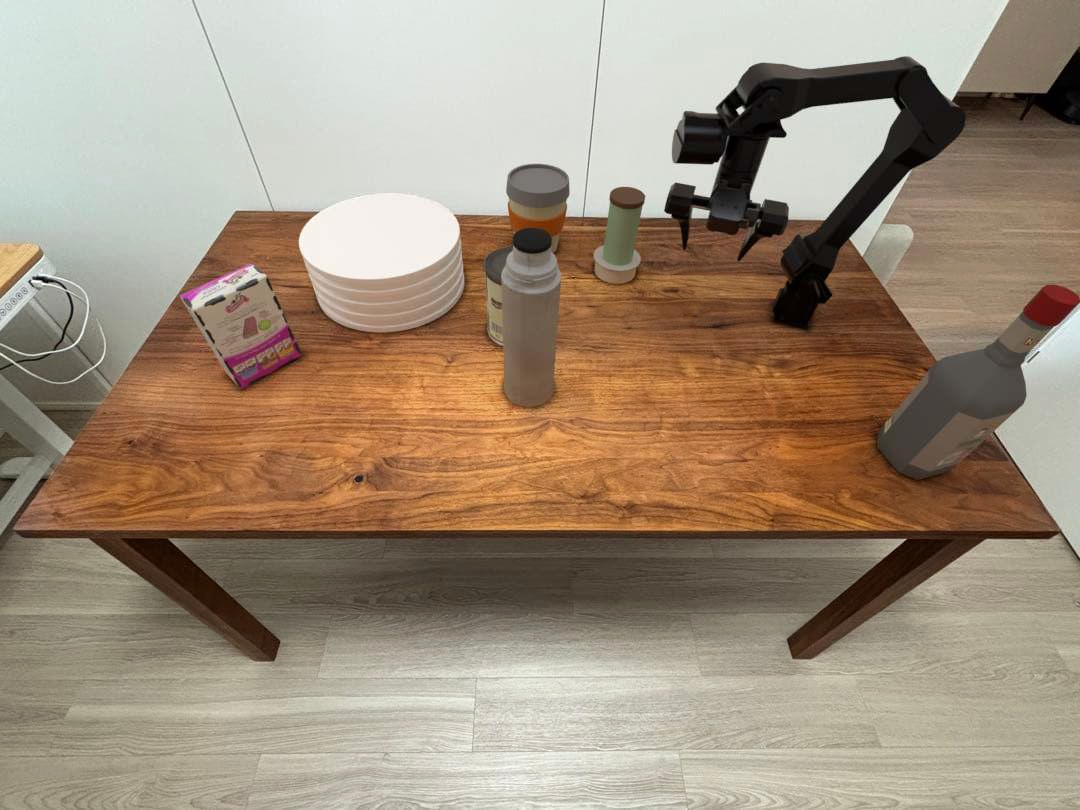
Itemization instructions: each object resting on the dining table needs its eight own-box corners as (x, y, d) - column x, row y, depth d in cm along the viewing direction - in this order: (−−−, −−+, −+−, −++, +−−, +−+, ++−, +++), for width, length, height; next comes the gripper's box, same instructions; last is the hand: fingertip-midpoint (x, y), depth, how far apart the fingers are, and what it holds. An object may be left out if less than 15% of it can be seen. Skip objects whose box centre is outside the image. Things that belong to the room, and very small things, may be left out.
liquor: (957, 471, 80) (1132, 313, 57) (906, 485, 78) (1067, 327, 55) (913, 425, 85) (1056, 265, 63) (865, 437, 83) (995, 276, 61)
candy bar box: (287, 342, 93) (252, 261, 81) (303, 356, 91) (269, 275, 78) (225, 375, 87) (176, 293, 75) (240, 391, 85) (193, 309, 73)
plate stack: (490, 299, 103) (488, 246, 94) (350, 353, 92) (332, 299, 83) (425, 231, 117) (417, 180, 109) (297, 270, 106) (277, 217, 98)
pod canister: (638, 264, 106) (650, 202, 96) (607, 267, 105) (617, 205, 95) (626, 246, 110) (637, 185, 100) (597, 249, 109) (605, 188, 99)
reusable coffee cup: (505, 230, 118) (503, 163, 107) (561, 229, 120) (565, 162, 108) (509, 263, 110) (508, 194, 99) (569, 261, 112) (575, 193, 100)
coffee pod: (641, 263, 112) (644, 249, 109) (632, 289, 106) (635, 274, 103) (598, 254, 114) (600, 239, 111) (586, 279, 108) (588, 264, 105)
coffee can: (548, 316, 100) (552, 250, 89) (537, 353, 93) (540, 286, 83) (495, 307, 101) (492, 241, 90) (480, 343, 94) (475, 276, 84)
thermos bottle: (514, 366, 91) (513, 214, 70) (559, 378, 89) (572, 226, 68) (496, 399, 86) (490, 246, 65) (543, 412, 84) (552, 260, 63)
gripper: (669, 176, 77) (649, 268, 89) (804, 201, 73) (764, 293, 85) (680, 145, 84) (660, 234, 96) (804, 166, 80) (767, 256, 92)
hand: (711, 254), depth 92 cm, fingers open, 9 cm apart
